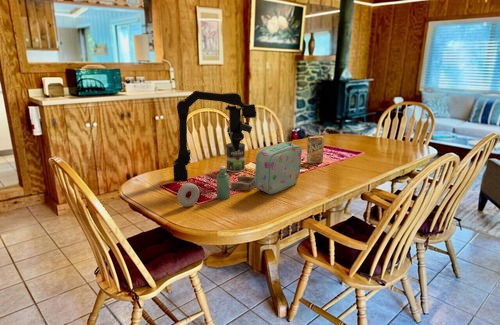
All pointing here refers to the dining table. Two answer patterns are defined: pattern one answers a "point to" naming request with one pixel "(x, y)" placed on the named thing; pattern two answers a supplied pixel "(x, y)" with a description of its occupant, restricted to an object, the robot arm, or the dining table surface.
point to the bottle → (223, 184)
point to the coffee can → (235, 158)
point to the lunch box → (277, 167)
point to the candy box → (315, 149)
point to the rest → (244, 183)
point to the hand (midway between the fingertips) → (235, 148)
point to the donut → (193, 197)
